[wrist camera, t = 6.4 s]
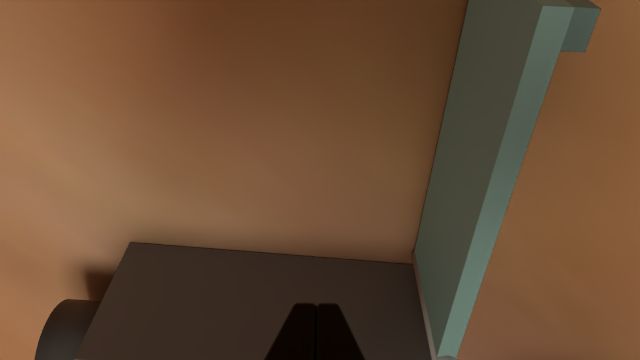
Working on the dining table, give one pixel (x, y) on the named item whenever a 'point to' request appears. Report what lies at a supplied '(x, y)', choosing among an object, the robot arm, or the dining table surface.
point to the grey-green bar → (486, 148)
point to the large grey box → (233, 306)
